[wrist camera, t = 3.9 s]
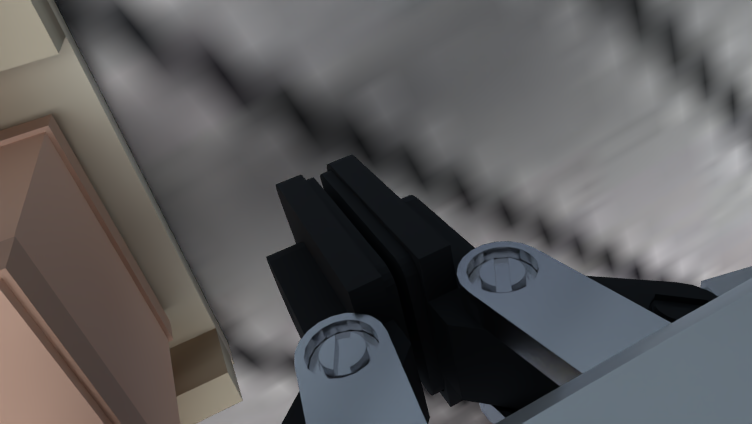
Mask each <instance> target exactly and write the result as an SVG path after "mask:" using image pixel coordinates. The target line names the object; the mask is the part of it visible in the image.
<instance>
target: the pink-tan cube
mask: <svg viewBox="0 0 752 424" xmlns="http://www.w3.org/2000/svg"><path fill="white" fill-rule="evenodd" d="M172 340H173V335H172V329H171V323H170V320H169V319H168V317H167V315H166V313H165V312H164V310H163V308H162V306H161V305H160V303H159V301H158V299H157V298H156V296H155V294H154V292H153V291H152V289H151V287H150V285H149V284H148V282H147V280H146V278H145V277H144V275H143V273H142V271H141V270H140V268H139V266H138V264H137V263H136V261H135V259H134V257H133V256H132V254H131V252H130V250H129V249H128V247H127V245H126V243H125V242H124V240H123V238H122V236H121V235H120V233H119V231H118V229H117V228H116V226H115V224H114V222H113V221H112V219H111V217H110V215H109V214H108V212H107V210H106V209H105V207H104V205H103V203H102V202H101V200H100V198H99V196H98V195H97V193H96V191H95V189H94V188H93V186H92V184H91V182H90V181H89V179H88V177H87V175H86V174H85V172H84V170H83V168H82V167H81V165H80V163H79V161H78V160H77V158H76V156H75V154H74V153H73V151H72V149H71V147H70V146H69V144H68V142H67V140H66V139H65V137H64V135H63V133H62V132H61V130H60V128H59V126H58V125H57V123H56V121H55V119H54V118H53V116H52V114H51V115H47V116H44V117H41V118H38V119H35V120H32V121H29V122H26V123H23V124H20V125H17V126H14V127H10V128H7V129H4V130H1V131H0V424H180V418H179V411H178V404H177V398H176V391H175V384H174V377H173V370H172V363H171V357H170V350H169V343H168V342H170V341H172Z"/></svg>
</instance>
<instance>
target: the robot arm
mask: <svg viewBox="0 0 752 424" xmlns="http://www.w3.org/2000/svg"><path fill="white" fill-rule="evenodd" d="M327 171H328V172H325V173H323V174H320V178H321V182H322V185H323V188H324V189H323V188H322V187H321V185H320V184H319V183H318V182H317V181H316V179H315V178H314V177H313V178H310V179H308V180H305V178H304V177H303V176H302V175H299V176H296V177H294V178H291V179H289V180H286V181H284V182H281V183H279V184H276V189H277V192H278V195H279V198H280V200H281V203H282V206H283V209H284V211H285V214H286V217H287V220H288V222H289V225H290V228H291V231H292V233H293V236H294V239H295V242H296V244H295V245H293V246H291V247H288V248H286V249H284V250H281V251H279V252H277V253H274V254H272V255H270V256H267V257H266V258H267V261H268V264H269V266H270V269H271V271H272V274H273V276H274V278H275V281H276V283H277V286H278V288H279V291H280V293H281V295H282V298H283V300H284V302H285V305H286V307H287V309H288V311H289V314H290V316H291V318H292V320H293V323H294V325H295V327H296V329H297V331H298V333H299V335H300V337H301V340H300V341H299V343H298V346H297V348H296V351H295V353H294V366H295V371H296V376H297V381H298V386H299V393H298V395H297V397H296V398H295V400H294V402H293V404H292V406H291V407H290V409H289V411H288V413H287V415H286V417H285V418H284V420H283V422H282V424H428V422H429V419H430V416H429V412H428V408H427V404H426V400H425V396H424V392H423V388H422V384H423V385H424V387H425V388H426V390H427V391H428V392H429V393H430V394H431V395H434V394H436V393H438V392H440V393H441V394H442V396H443V397H444V398H445V400H446V401H447V403H448V404H449V405H450V407H451V406H453V405H455V404H457V403H459V402H461V401H462V400H466V401H472V402H478V403H479V404H480V408H481V411H482V412H483V413H484V415H485V416H486V417H487V418H488V420H489V421H490V422H491V423H493V424H752V266H751V267H748V268H744V269H741V270H737V271H734V272H731V273H727V274H724V275H720V276H717V277H714V278H710V279H707V280H703V281H701V287H697V286H694V285H689V284H683V283H677V282H664V281H650V280H636V279H622V278H608V277H594V276H585V275H583V274H581V273H579V272H578V271H576V270H574V269H572V268H570V267H568V266H567V265H565V264H563V263H561V262H559V261H558V260H556V259H554V258H552V257H550V256H548V255H547V254H545V253H543V252H541V251H539V250H537V249H536V248H534V247H531V246H529V245H526V244H523V243H518V242H512V241H500V242H492V243H488V244H484V245H481V246H479V247H477V248H474V247H473V246H472V245H471V244H470V243H468V242H467V241H466V240H465V239H464V238H463V237H462V236H460V235H459V234H458V233H457V232H456V231H455V230H453V229H452V228H451V227H450V226H449V225H448V224H447V223H445V222H444V221H443V220H442V219H441V218H440V217H438V216H437V215H436V214H435V213H434V212H433V211H432V210H430V209H429V208H428V207H427V206H426V205H425V204H424V203H422V202H421V201H420V200H419V199H418V198H416V197H415V196H413V195H409V196H407V197H404V198H402V199H400V198H399V197H398V196H397V195H396V194H395V193H394V192H393V191H392V190H391V189H389V188H388V187H387V186H386V185H385V184H384V183H383V182H382V181H381V180H380V179H379V178H377V177H376V176H375V175H374V174H373V173H372V172H371V171H370V170H369V169H368V168H367V167H366V166H364V165H363V164H362V163H361V162H360V161H359V160H358V159H357V158H356V157H355V156H353V155H349V156H347V157H344V158H342V159H339V160H337V161H334V162H332V163H329V164H327ZM421 382H422V384H421Z"/></svg>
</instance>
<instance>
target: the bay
mask: <svg viewBox="0 0 752 424" xmlns="http://www.w3.org/2000/svg"><path fill="white" fill-rule="evenodd" d="M51 114H52V116H53V118H54V119H55V121H56V123H57V125H58V126H59V128H60V130H61V132H62V133H63V135H64V137H65V139H66V140H67V142H68V144H69V146H70V147H71V149H72V151H73V153H74V154H75V156H76V158H77V160H78V161H79V163H80V165H81V167H82V168H83V170H84V172H85V174H86V175H87V177H88V179H89V181H90V182H91V184H92V186H93V188H94V189H95V191H96V193H97V195H98V196H99V198H100V200H101V202H102V203H103V205H104V207H105V209H106V210H107V212H108V214H109V215H110V217H111V219H112V221H113V222H114V224H115V226H116V228H117V229H118V231H119V233H120V235H121V236H122V238H123V240H124V242H125V243H126V245H127V247H128V249H129V250H130V252H131V254H132V256H133V257H134V259H135V261H136V263H137V264H138V266H139V268H140V270H141V271H142V273H143V275H144V277H145V278H146V280H147V282H148V284H149V285H150V287H151V289H152V291H153V292H154V294H155V296H156V298H157V299H158V301H159V303H160V305H161V306H162V308H163V310H164V312H165V313H166V315H167V317H168V319H169V320H170V323H171V329H172V335H173V340H172V341H170V342H168V343H169V350H170V357H171V363H172V370H173V377H174V384H175V391H176V398H177V404H178V411H179V418H180V424H196V423H198V422H200V421H202V420H204V419H206V418H208V417H210V416H213V415H215V414H217V413H219V412H221V411H223V410H225V409H227V408H229V407H231V406H233V405H235V404H237V403H239V402H241V401H243V400H242V396H241V393H240V389H239V386H238V382H237V379H236V375H235V372H234V368H233V364H234V361H233V358H232V355H231V351H230V348H229V344H228V342H227V340H226V338H225V336H224V334H223V332H222V330H221V328H220V326H219V324H218V322H217V320H216V318H215V317H214V315H213V313H212V311H211V309H210V307H209V305H208V303H207V301H206V299H205V297H204V295H203V293H202V291H201V289H200V287H199V285H198V283H197V281H196V279H195V277H194V275H193V273H192V271H191V269H190V267H189V265H188V263H187V261H186V259H185V257H184V255H183V253H182V252H181V250H180V248H179V246H178V244H177V242H176V240H175V238H174V236H173V234H172V232H171V230H170V228H169V226H168V224H167V222H166V220H165V218H164V216H163V214H162V212H161V210H160V208H159V206H158V204H157V202H156V200H155V198H154V196H153V194H152V192H151V190H150V188H149V187H148V185H147V183H146V181H145V179H144V177H143V175H142V173H141V171H140V169H139V167H138V165H137V163H136V161H135V159H134V157H133V155H132V153H131V151H130V149H129V147H128V145H127V143H126V141H125V139H124V137H123V135H122V133H121V131H120V129H119V127H118V125H117V123H116V122H115V120H114V118H113V116H112V114H111V112H110V110H109V108H108V106H107V104H106V102H105V100H104V98H103V96H102V94H101V92H100V90H99V88H98V86H97V84H96V82H95V80H94V78H93V76H92V74H91V72H90V70H89V68H88V66H87V64H86V62H85V60H84V58H83V57H82V55H81V53H80V51H79V49H78V47H77V45H76V43H75V41H74V39H73V37H72V35H71V33H70V31H69V29H68V27H67V25H66V23H65V21H64V19H63V17H62V15H61V13H60V11H59V9H58V7H57V5H56V3H55V1H54V0H0V131H1V130H4V129H7V128H10V127H14V126H17V125H20V124H23V123H26V122H29V121H32V120H35V119H38V118H41V117H44V116H47V115H51Z"/></svg>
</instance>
